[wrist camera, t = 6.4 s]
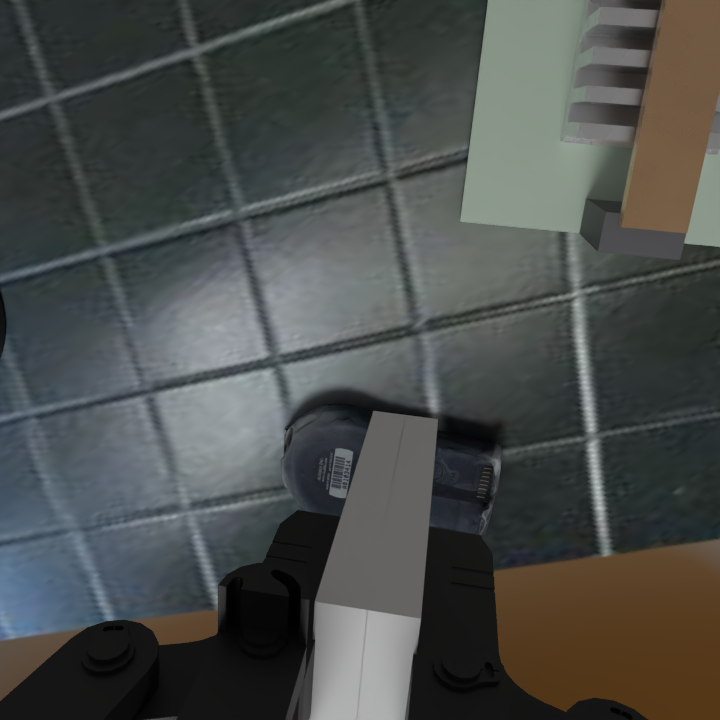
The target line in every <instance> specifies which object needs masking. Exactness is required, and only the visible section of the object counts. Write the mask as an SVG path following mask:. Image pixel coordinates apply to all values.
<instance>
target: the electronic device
mask: <svg viewBox="0 0 720 720" xmlns="http://www.w3.org/2000/svg"><path fill="white" fill-rule="evenodd" d="M372 414H373V413H372V412H369V411H367V410H366V409H364V408H357V407H354V406H352V405H345V404H330V405H323V406H321V407H318V408H314V409H313V410H311V411H309V412H307V413H305V414H304V415H302V416H301V417H299V418H298V419H297V420H296V421H295V422H294V423H293V424H292V425H291V426H290V428H289V429H288V430H287V431H286V430H285V442H284V457H283V458H282V459H281V470H282V478H283V481H284V485H285V487H286V488H288V490H289V491H290V492H291V494H292V496H293V497H294V498H295V500H296V501H297V502H298V503H299V504H300V505H301V506H302V507H303V508H304V509H305V510H307V511H308V512H314V513H321V514H327V515H334V516H341V515H342V512H343V508H344V505H345V502H346V499H347V495H348V492H349V489H350V486H351V482H352V479H353V476H354V473H355V469H356V466H357V463H358V460H359V456H360V453H361V450H362V447H363V443H364V440H365V437H366V434H367V430H368V427H369V424H370V421H371V418H372ZM501 444H502V443H499V444H497V443H490V442H485V441H481V440H477V439H472V438H468V437H465V436H460V435H456V434H452V433H447V432H442V431H438V430H437V438H436V449H435V461H434V473H433V484H432V496H431V508H430V519H429V528H436V529H442V530H449V531H456V532H463V533H470V534H477V535H480V536H481V537H482V539H483V540H484V542H485V539H486V534H487V530H488V524H489V520H490V517H491V514H492V510H493V507H494V504H495V501H496V497H497V492H498V486H499V477H500V470H501V460H500V456H501V454H502V449H501Z"/></svg>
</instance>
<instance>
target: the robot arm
mask: <svg viewBox="0 0 720 720" xmlns="http://www.w3.org/2000/svg"><path fill="white" fill-rule="evenodd" d="M4 339H5V318H4V311H3V306H2V302H1V298H0V356H1V353H2V350H3V345H4ZM437 426H438V419H433V418H425V417H417V416H410V415H402V414H394V413H386V412H378V411H373V414H372V418H371V421H370V424H369V427H368V430H367V434H366V437H365V440H364V443H363V447H362V450H361V453H360V456H359V460H358V463H357V466H356V469H355V473H354V476H353V479H352V482H351V486H350V489H349V492H348V495H347V499H346V502H345V505H344V508H343V512H342V515H341V516H334V515H327V514H321V513H314V512H307V511H300V510H297V511H296V512H295V513H293V514H292V515H291V516H290V517H288V518H287V519H286V520H284V521H283V522H282V523H281V524H280V526H279V528H278V530H277V532H276V535H275V537H274V539H273V543H272V544H271V546H270V548H269V550H268V552H267V555H266V559H264V561H263V563H256V564H251V565H247V566H242V567H240V568H238V569H236V570H235V571H233V572H231V573H229V574H227V575H226V577H225V578H224V579H223V580H222V581H221V582H220V584H219V585H218V633H217V634H216V635H215V636H212V637H209V638H207V639H204V640H200V641H195V642H189V643H180V644H170V645H159V643H158V641H157V639H156V637H155V635H154V633H153V631H152V630H150V629H149V628H147V627H146V626H144V625H143V624H141V623H137V622H133V621H128V620H116V621H105V622H103V623H100V624H97V625H94V626H91V627H88V628H86V629H85V630H83V631H82V632H80V633H79V634H77V635H76V636H74V637H73V638H71V639H70V640H69V641H68V642H67V643H66V644H64V645H63V646H62V647H61V648H60V649H59V650H58V651H56V652H55V653H54V654H53V655H52V656H51V657H50V658H49V659H47V660H46V661H45V662H44V663H43V664H42V665H41V666H40V667H39V668H37V669H36V670H35V671H34V672H33V673H32V674H31V675H29V676H28V677H27V678H26V679H25V680H24V681H23V682H21V683H20V684H19V685H18V686H17V687H16V688H15V689H14V690H13V691H11V692H10V693H9V694H8V695H7V696H6V697H5V698H3V699H2V700H1V701H0V720H648V719H646V718H645V717H644V716H642V715H641V714H640V713H638V712H637V711H636V710H634V709H632V708H630V707H628V706H625V705H623V704H621V703H618V702H616V701H613V700H606V699H599V698H592V699H588V700H582V701H578V702H577V703H576V704H575V705H573V706H572V707H571V708H570V709H569V710H567V712H564V711H562V710H560V709H558V708H555V707H553V706H551V705H548V704H546V703H544V702H542V701H540V700H538V699H536V698H535V697H533V696H531V695H529V694H528V693H526V692H525V691H524V690H523V689H521V688H520V687H519V686H517V685H516V684H515V683H514V682H513V680H512V679H511V678H510V677H509V676H508V674H507V673H506V671H505V669H504V666H503V665H502V663H501V660H500V656H499V650H498V634H497V619H496V603H495V593H494V589H495V588H494V577H493V557H492V552H491V551H490V549H489V548H488V546H487V545H486V543H485V542H484V540H483V539H482V537H481V536H480V535H477V534H470V533H463V532H456V531H449V530H442V529H436V528H429V519H430V508H431V496H432V484H433V473H434V461H435V449H436V438H437Z"/></svg>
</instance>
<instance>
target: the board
mask: <svg viewBox="0 0 720 720" xmlns="http://www.w3.org/2000/svg"><path fill="white" fill-rule="evenodd" d="M583 4H584V0H488V4H487V12H486V19H485V27H484V35H483V43H482V51H481V59H480V67H479V75H478V83H477V91H476V99H475V107H474V115H473V123H472V131H471V138H470V146H469V154H468V162H467V170H466V178H465V186H464V194H463V202H462V210H461V218H460V222H470V223H480V224H491V225H501V226H511V227H521V228H532V229H542V230H552V231H563V232H573V233H580V234H581V235H582V236H583V237H584V238H585V239H586V240H587V241H588V242H589V243H590V244H591V245H592V246H593V247H594V248H595V249H596V250H597V251H598V252H605V253H615V254H625V255H635V256H645V257H655V258H665V259H675V260H680V257H681V253H682V249H683V245H684V243H686V244H697V245H707V246H717V247H720V149H719V151H718V155H711V154H705V158H704V162H703V166H702V171H701V175H700V180H699V184H698V188H697V193H696V197H695V202H694V206H693V210H692V215H691V219H690V224H689V228H688V232H687V233H677V232H666V231H656V230H645V229H635V228H624V227H620V226H618V222H619V217H620V212H621V207H622V202H623V197H624V191H625V186H626V181H627V176H628V171H629V166H630V161H631V156H632V151H633V148H627V147H615V146H602V145H590V144H578V143H566V142H561V141H560V138H561V132H562V127H563V121H564V115H565V109H566V103H567V97H568V91H569V86H570V80H571V74H572V68H573V62H574V56H575V51H576V45H577V39H578V33H579V27H580V21H581V15H582V10H583Z"/></svg>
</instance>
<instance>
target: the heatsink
mask: <svg viewBox="0 0 720 720" xmlns="http://www.w3.org/2000/svg"><path fill="white" fill-rule="evenodd" d="M661 2H662V0H584V4H583V10H582V15H581V21H580V27H579V33H578V39H577V45H576V51H575V56H574V62H573V68H572V74H571V80H570V86H569V91H568V97H567V103H566V109H565V115H564V121H563V127H562V132H561V138H560V141H561V142H566V143H578V144H590V145H602V146H615V147H627V148H633V145H634V140H635V135H636V130H637V125H638V120H639V115H640V110H641V104H642V99H643V94H644V89H645V84H646V79H647V74H648V69H649V64H650V58H651V53H652V48H653V43H654V38H655V33H656V28H657V23H658V18H659V12H660V7H661ZM719 149H720V92H719V96H718V100H717V105H716V109H715V114H714V118H713V122H712V127H711V131H710V136H709V140H708V144H707V149H706V153H705V154H711V155H718V151H719Z"/></svg>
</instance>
